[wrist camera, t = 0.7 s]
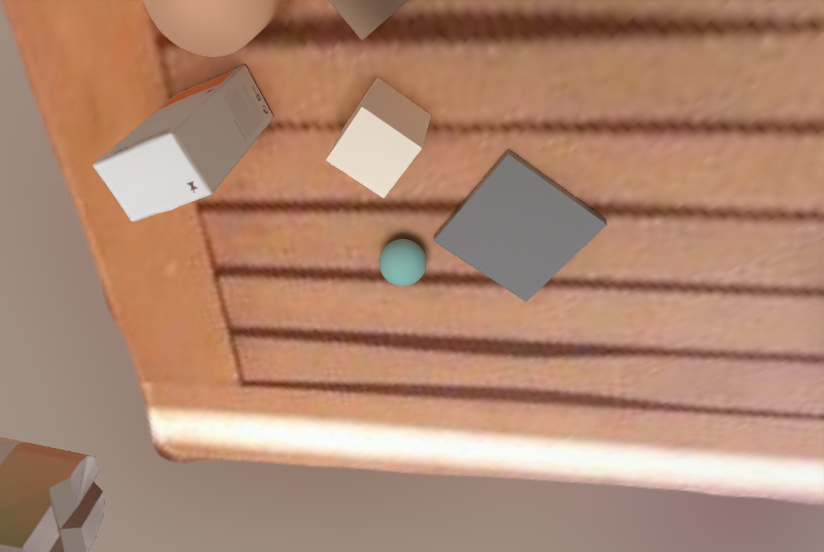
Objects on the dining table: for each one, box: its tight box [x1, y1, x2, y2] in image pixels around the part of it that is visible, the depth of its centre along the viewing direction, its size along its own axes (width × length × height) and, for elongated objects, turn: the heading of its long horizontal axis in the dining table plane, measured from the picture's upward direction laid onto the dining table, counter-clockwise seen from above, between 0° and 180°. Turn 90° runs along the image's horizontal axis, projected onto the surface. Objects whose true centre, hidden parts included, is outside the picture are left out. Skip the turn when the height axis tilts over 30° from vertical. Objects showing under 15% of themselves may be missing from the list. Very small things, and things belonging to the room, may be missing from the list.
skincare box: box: [93, 65, 273, 222], centre depth 45 cm, size 6×4×12 cm
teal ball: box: [379, 239, 426, 286], centre depth 53 cm, size 4×4×4 cm
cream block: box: [326, 77, 431, 198], centre depth 46 cm, size 4×4×6 cm
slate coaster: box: [434, 149, 607, 302], centre depth 52 cm, size 9×9×1 cm
